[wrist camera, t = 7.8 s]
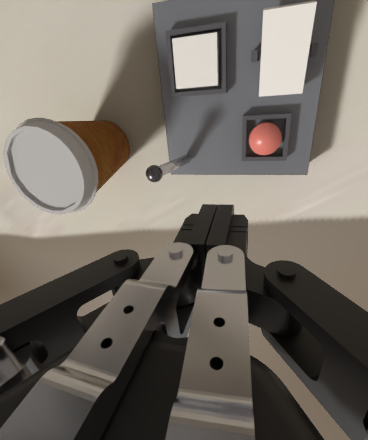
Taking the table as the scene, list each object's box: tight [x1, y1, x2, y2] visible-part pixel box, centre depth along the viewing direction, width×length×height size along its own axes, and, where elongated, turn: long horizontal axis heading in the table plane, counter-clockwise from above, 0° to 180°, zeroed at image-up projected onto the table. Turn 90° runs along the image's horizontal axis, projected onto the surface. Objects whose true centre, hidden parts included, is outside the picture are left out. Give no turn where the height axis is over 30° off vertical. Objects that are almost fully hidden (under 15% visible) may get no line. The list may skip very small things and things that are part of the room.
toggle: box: [146, 154, 191, 182], centre depth 26 cm, size 2×2×7 cm
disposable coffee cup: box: [3, 118, 129, 214], centre depth 29 cm, size 10×10×12 cm
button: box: [249, 121, 282, 155], centre depth 25 cm, size 3×3×1 cm
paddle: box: [172, 32, 219, 89], centre depth 23 cm, size 4×4×1 cm
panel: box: [152, 0, 334, 175], centre depth 25 cm, size 16×15×4 cm
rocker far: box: [259, 1, 317, 97], centre depth 21 cm, size 6×4×2 cm, turn 5°
